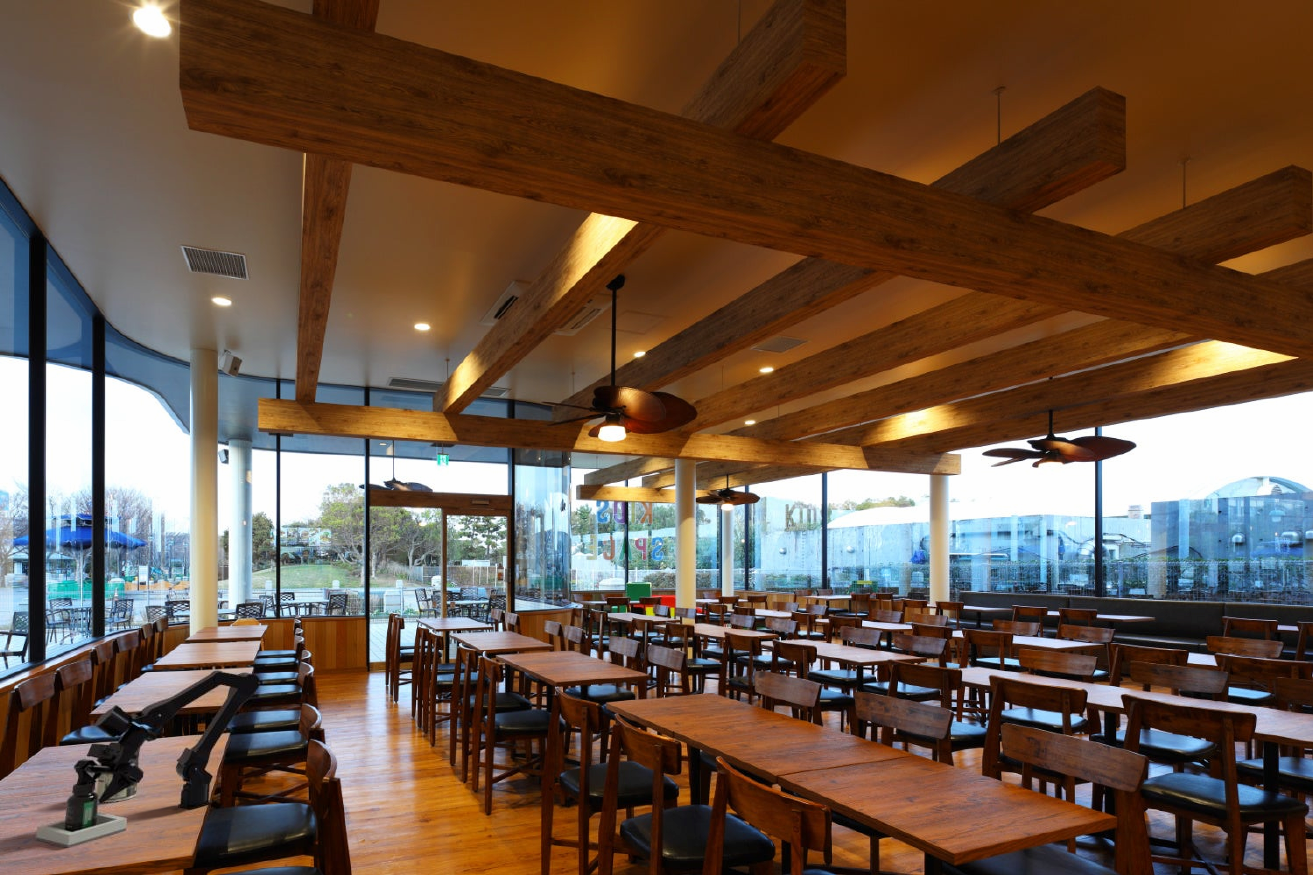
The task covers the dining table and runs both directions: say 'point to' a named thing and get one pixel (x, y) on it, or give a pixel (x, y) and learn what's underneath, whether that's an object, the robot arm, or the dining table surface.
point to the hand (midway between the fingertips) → (86, 801)
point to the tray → (81, 831)
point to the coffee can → (122, 795)
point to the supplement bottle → (81, 807)
